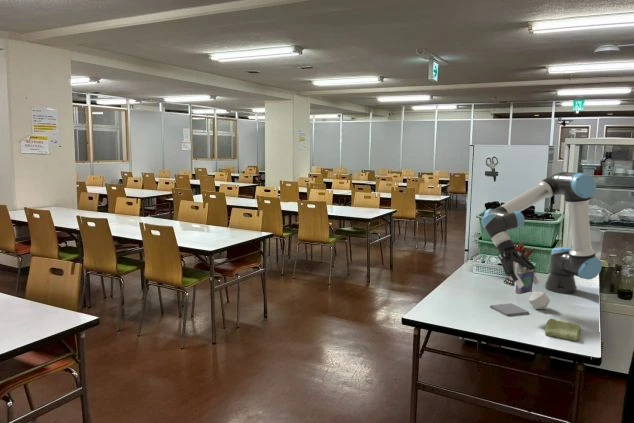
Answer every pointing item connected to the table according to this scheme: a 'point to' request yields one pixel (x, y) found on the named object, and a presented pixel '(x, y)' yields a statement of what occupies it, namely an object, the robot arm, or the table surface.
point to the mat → (509, 309)
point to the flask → (525, 281)
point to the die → (539, 300)
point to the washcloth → (562, 330)
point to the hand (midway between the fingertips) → (529, 285)
